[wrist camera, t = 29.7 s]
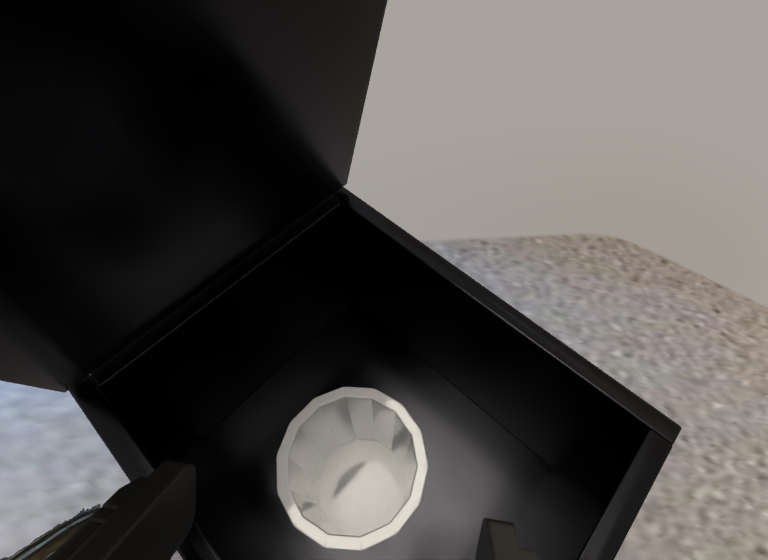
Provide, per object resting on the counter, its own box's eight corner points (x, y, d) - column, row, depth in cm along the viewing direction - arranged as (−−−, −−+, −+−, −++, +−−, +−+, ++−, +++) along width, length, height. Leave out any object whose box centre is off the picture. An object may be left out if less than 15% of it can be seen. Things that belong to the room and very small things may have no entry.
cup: (433, 481, 22) (458, 454, 14) (362, 573, 19) (350, 595, 12) (361, 413, 23) (352, 359, 16) (290, 490, 21) (243, 467, 14)
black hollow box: (567, 469, 23) (683, 427, 14) (404, 726, 17) (426, 921, 9) (354, 292, 29) (342, 184, 20) (185, 443, 23) (66, 389, 15)
